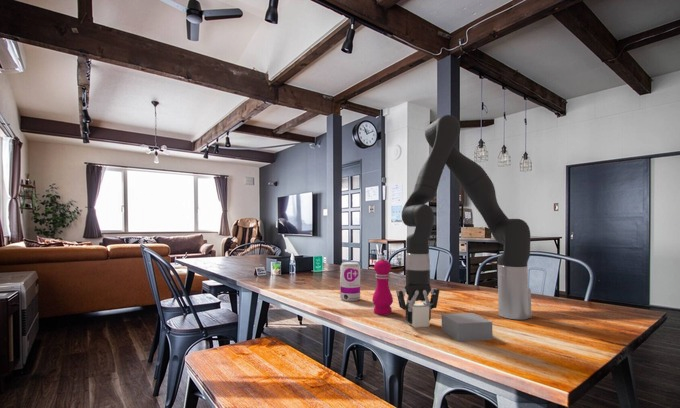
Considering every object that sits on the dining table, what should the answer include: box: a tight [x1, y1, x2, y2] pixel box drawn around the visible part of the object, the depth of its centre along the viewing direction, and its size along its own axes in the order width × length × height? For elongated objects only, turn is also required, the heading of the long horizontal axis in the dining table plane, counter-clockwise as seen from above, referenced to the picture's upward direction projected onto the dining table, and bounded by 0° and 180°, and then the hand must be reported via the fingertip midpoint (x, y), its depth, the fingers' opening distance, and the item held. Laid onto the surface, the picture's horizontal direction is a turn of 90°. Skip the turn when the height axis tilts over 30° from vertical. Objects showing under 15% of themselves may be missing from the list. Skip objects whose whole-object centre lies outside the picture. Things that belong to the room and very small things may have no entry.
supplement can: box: [339, 261, 361, 302], centre depth 144 cm, size 8×8×15 cm
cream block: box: [409, 302, 430, 328], centre depth 108 cm, size 5×5×6 cm
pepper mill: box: [372, 255, 394, 316], centre depth 123 cm, size 7×7×20 cm
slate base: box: [441, 312, 494, 342], centre depth 98 cm, size 10×10×5 cm
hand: (418, 322), depth 108 cm, fingers open, 5 cm apart
